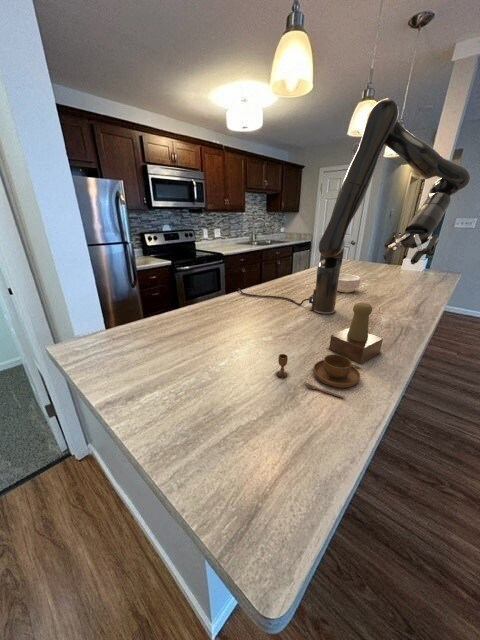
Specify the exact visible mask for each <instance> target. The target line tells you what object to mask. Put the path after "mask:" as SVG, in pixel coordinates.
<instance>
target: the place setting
mask: <svg viewBox="0 0 480 640" xmlns="http://www.w3.org/2000/svg"><path fill="white" fill-rule="evenodd" d="M277 361H278V365H279V366H280V370H279V371H277V372H276V376H277V377H279V378H281V379H283V378H287V377H288V373H287V372H286V371H285V366H286V365H287V364H288V361H289V357H288V355H287V354H286V353H280V354H279V355H278V360H277ZM357 368H360V366H358V365H356V364H353V363H352V360H351V359H349V358H347V357H345V356H343V355H341V354H328V355H326V356H325V357H324V358H323V359H322V360H319V361H317V362H315V363H314V365H313V370H312V371H313V374H314V376H315V377H316V378H317V379H318V380H319V381H321V382H322V383H323V384H326V385H328V386H331V387H336V388H349V387H353V386H355V385H356V384H357V383H358V382H359V381H360V379H361V373H360V372H359V369H357ZM303 385H304V386H305V387H307V388H309V389H311V390H317V391H321V392H323V393H326V394H329V395H331V396H335V397H338V398H341V399H343V398H344V397H343V396H341V395H340V394H339V395H338V394H336V393H333V392H331V391H329V390H325V389H322V388H319V387H316V386H314V385H312V384H310V383H309V382H307V381H304V383H303Z"/></svg>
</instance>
